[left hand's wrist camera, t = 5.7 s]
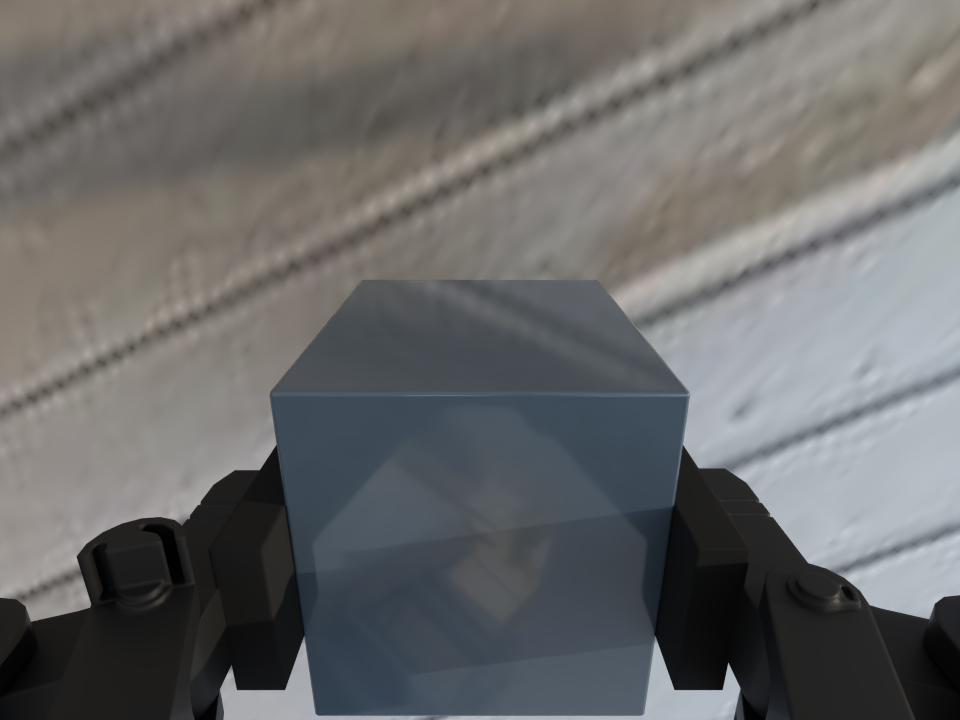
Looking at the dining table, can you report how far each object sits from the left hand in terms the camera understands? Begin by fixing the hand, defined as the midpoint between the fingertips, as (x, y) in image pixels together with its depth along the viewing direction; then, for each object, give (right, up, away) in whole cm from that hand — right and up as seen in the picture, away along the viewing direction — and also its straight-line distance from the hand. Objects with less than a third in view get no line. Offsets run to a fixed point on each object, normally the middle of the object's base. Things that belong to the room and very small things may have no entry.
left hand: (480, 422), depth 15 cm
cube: (0, +1, +2) cm, 2 cm away
